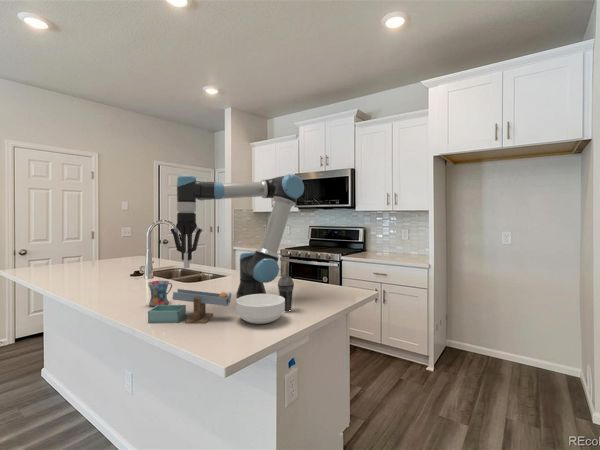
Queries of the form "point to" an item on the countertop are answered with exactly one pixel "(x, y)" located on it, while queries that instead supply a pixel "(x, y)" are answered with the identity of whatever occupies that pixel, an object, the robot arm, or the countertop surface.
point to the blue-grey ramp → (201, 297)
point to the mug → (159, 292)
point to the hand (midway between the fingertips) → (186, 267)
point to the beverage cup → (286, 290)
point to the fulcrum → (199, 313)
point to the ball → (223, 295)
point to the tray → (166, 314)
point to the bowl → (260, 308)
